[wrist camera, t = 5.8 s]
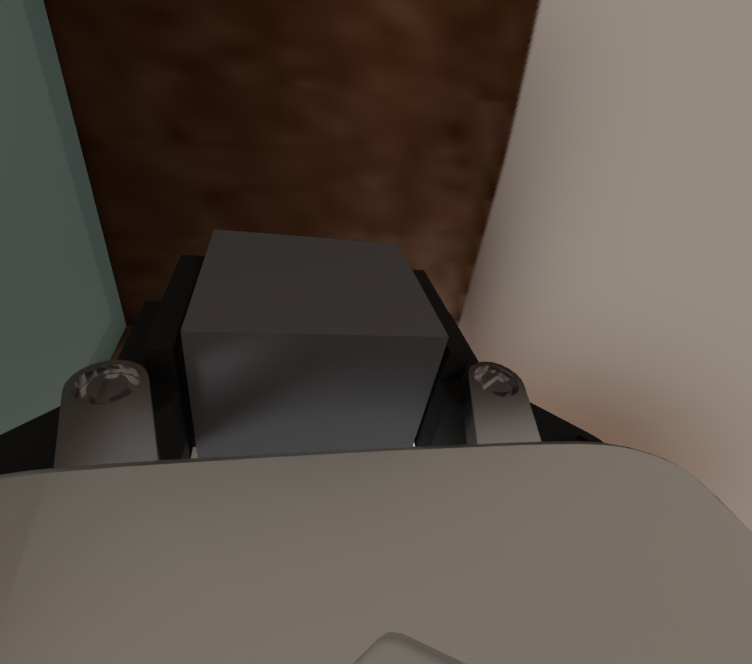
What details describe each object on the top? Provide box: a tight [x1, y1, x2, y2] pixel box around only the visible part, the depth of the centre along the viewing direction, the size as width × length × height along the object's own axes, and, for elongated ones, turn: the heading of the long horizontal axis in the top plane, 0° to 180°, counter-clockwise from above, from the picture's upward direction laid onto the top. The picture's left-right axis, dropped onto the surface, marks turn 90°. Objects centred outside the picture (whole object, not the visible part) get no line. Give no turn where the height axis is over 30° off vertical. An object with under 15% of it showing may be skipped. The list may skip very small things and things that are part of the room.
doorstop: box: [181, 229, 449, 458], centre depth 13 cm, size 5×14×4 cm, turn 170°
